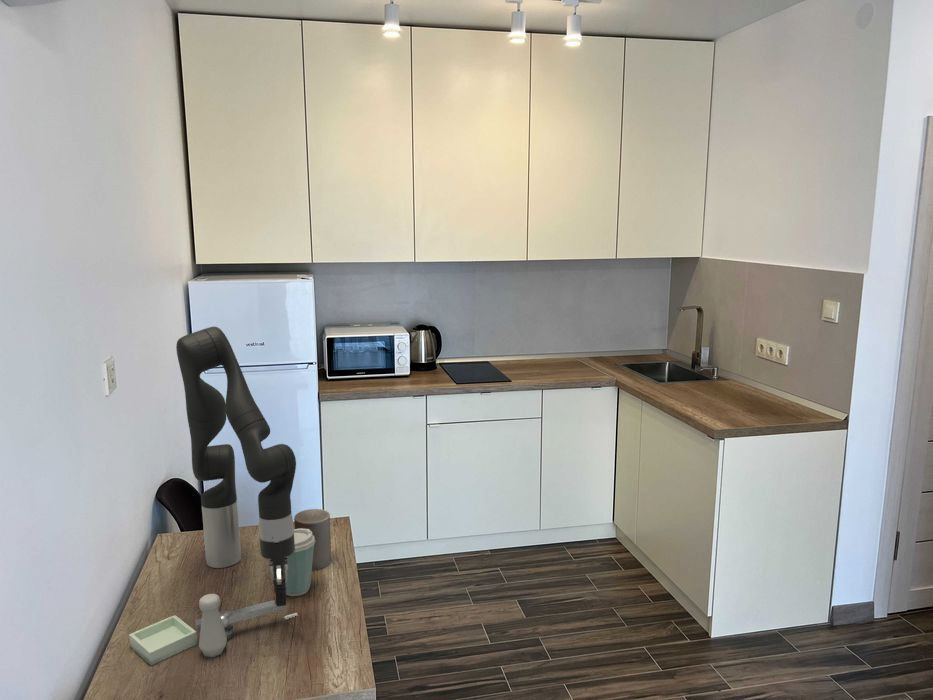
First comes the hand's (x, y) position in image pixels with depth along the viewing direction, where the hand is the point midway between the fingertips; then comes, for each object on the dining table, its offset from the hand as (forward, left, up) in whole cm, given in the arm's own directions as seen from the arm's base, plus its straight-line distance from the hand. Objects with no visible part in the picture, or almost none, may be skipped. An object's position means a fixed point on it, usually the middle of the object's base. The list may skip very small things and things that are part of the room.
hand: (281, 604), depth 161 cm
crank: (-6, -6, -4) cm, 10 cm away
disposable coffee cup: (-13, +12, -6) cm, 19 cm away
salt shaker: (-4, -15, -6) cm, 17 cm away
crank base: (-8, -11, -6) cm, 15 cm away
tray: (-15, -21, -6) cm, 26 cm away
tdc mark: (-3, +4, -6) cm, 8 cm away
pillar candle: (-22, +24, -6) cm, 33 cm away
